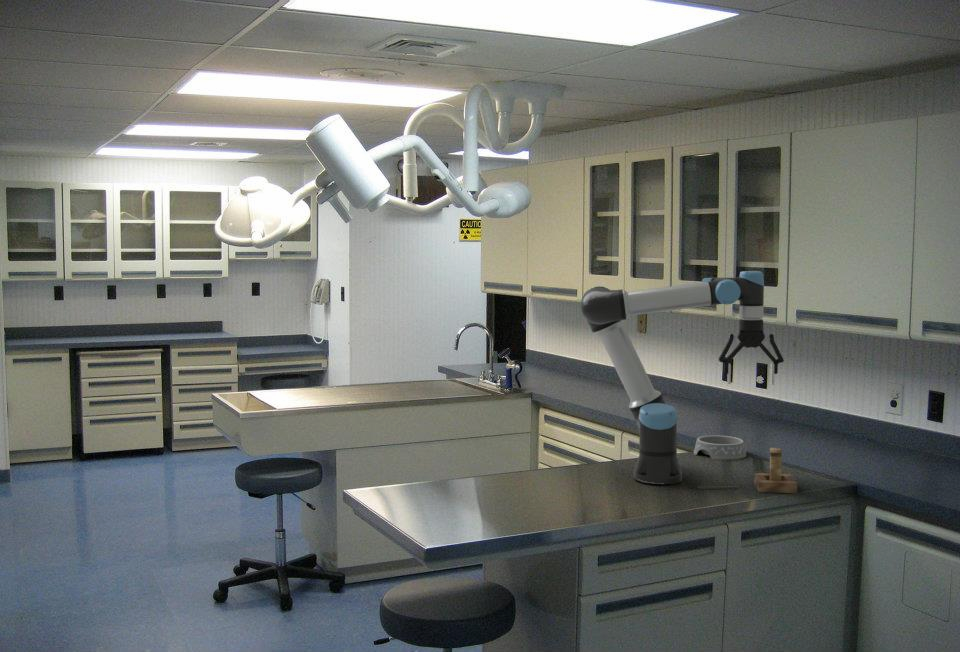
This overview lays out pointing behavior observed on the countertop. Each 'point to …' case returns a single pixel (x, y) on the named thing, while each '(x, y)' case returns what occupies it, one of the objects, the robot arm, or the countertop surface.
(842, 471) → the countertop surface
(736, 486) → the lace
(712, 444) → the dog bowl
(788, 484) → the square wooden tray
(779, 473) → the wooden peg
